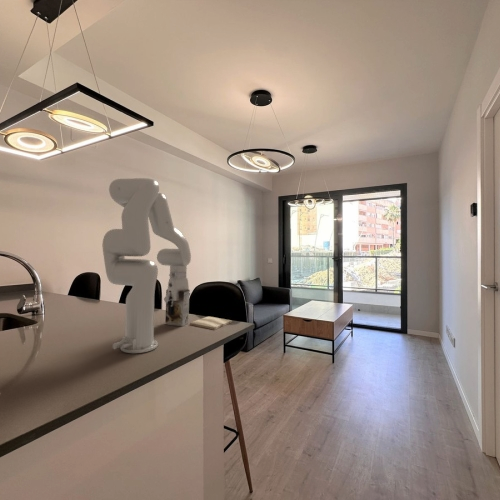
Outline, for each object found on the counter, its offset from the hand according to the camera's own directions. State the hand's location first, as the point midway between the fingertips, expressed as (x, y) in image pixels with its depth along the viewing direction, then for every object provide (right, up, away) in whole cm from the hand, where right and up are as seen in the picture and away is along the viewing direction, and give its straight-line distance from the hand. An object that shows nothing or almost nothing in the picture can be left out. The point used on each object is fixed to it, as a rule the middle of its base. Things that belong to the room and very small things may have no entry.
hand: (177, 312), depth 135 cm
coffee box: (0, -5, 0) cm, 5 cm away
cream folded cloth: (+16, -5, +2) cm, 17 cm away
